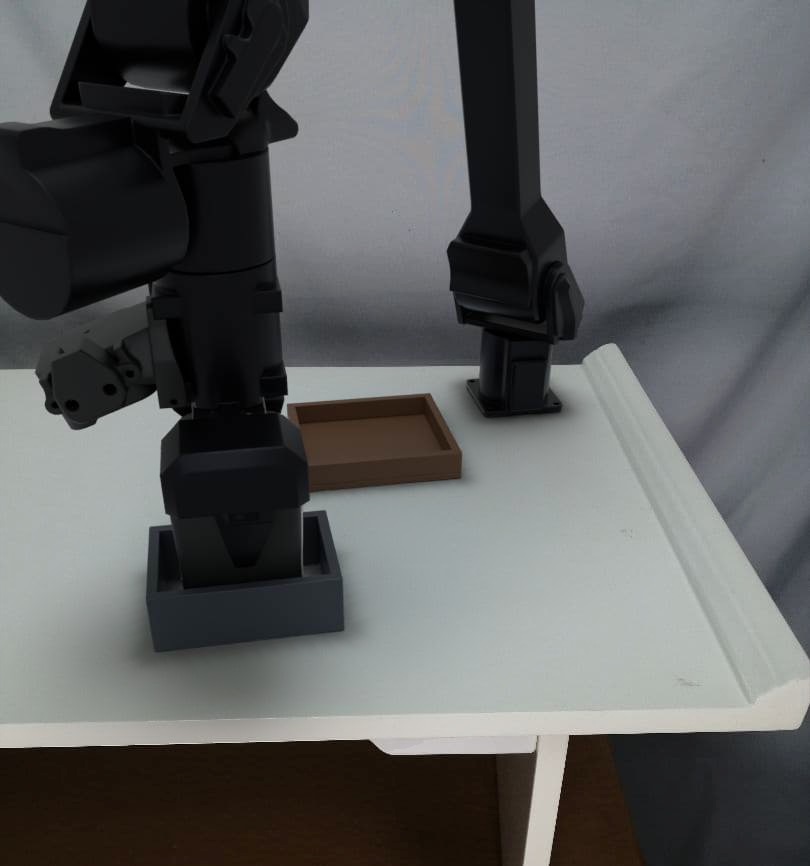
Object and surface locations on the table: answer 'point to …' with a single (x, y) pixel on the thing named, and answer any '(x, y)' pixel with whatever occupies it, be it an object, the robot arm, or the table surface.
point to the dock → (244, 597)
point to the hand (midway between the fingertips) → (242, 540)
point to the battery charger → (211, 561)
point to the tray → (375, 441)
